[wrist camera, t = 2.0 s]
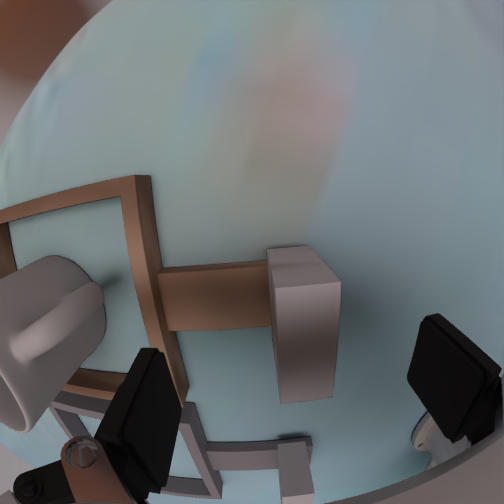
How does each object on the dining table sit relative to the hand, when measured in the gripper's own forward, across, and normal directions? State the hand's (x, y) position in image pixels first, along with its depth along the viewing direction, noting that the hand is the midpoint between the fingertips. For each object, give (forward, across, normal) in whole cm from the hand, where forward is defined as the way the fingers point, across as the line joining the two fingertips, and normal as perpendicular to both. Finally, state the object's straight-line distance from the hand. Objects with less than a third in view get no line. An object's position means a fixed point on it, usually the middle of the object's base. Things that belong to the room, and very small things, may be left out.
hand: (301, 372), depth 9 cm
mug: (+10, +15, +1) cm, 18 cm away
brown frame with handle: (+10, +11, +1) cm, 15 cm away
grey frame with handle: (+9, +10, +19) cm, 23 cm away
